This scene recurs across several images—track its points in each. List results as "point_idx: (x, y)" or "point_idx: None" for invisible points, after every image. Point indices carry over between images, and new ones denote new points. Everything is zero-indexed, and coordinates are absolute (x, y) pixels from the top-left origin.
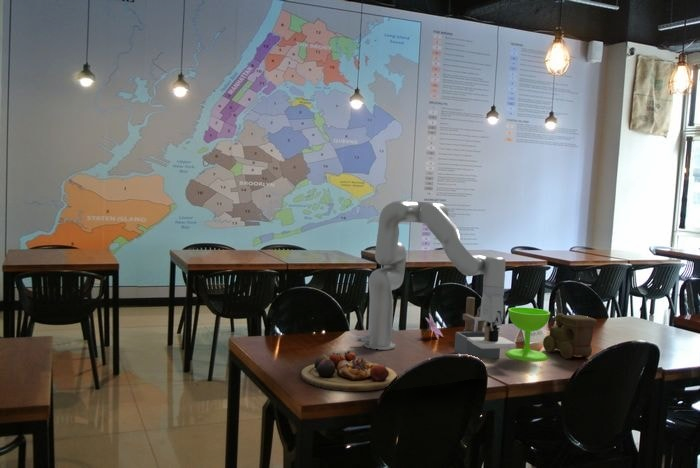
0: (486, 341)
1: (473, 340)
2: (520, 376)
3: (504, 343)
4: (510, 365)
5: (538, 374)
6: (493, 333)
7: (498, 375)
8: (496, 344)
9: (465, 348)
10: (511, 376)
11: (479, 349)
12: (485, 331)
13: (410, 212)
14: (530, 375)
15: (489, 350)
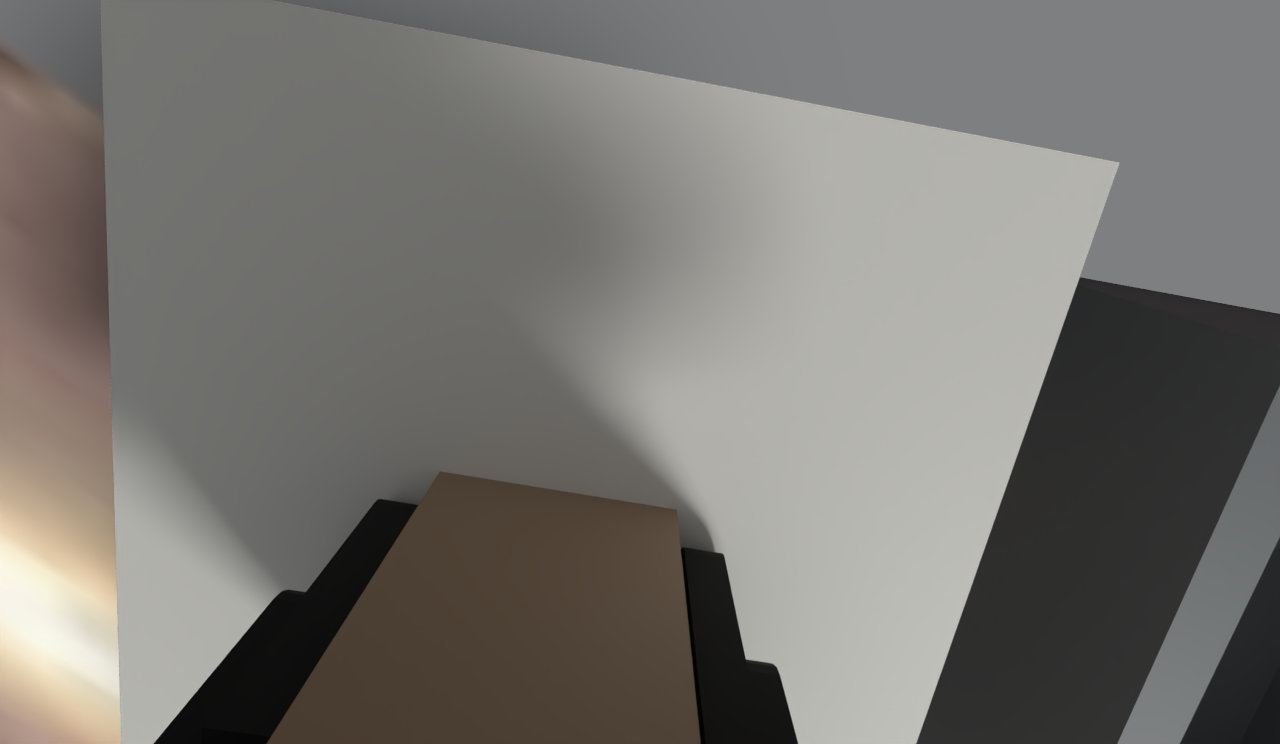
0: (429, 418)
1: (651, 83)
2: (38, 472)
3: (144, 731)
4: None
5: (112, 722)
6: (176, 738)
7: (100, 205)
8: (126, 509)
9: (1153, 303)
10: (42, 357)
11: (1014, 536)
12: (625, 669)
13: None
14: (76, 614)
15: (947, 681)
